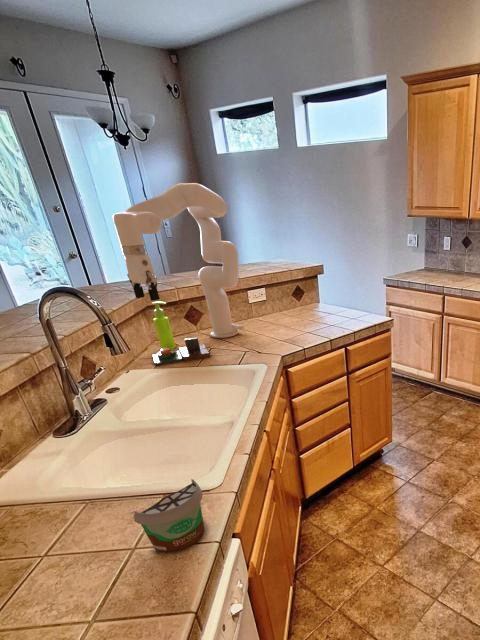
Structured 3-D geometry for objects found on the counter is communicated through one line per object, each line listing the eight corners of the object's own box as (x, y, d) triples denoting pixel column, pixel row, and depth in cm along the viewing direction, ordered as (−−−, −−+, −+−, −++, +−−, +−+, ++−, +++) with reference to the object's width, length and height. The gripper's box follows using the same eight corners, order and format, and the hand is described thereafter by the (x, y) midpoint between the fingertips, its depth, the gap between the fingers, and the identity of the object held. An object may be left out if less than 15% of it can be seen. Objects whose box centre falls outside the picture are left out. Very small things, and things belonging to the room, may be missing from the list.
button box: (179, 353, 184) (177, 346, 183) (182, 361, 175) (180, 354, 173) (153, 357, 179) (151, 350, 178) (155, 365, 170) (153, 358, 169)
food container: (167, 568, 76) (151, 524, 71) (147, 555, 79) (130, 512, 74) (225, 527, 85) (214, 487, 81) (205, 517, 88) (194, 477, 84)
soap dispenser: (174, 349, 189) (161, 303, 180) (158, 349, 189) (145, 303, 180) (180, 345, 194) (168, 300, 185) (165, 345, 195) (153, 300, 185)
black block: (199, 348, 183) (196, 336, 180) (200, 349, 181) (197, 337, 179) (187, 350, 181) (184, 338, 178) (187, 351, 179) (184, 339, 177)
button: (170, 351, 178) (169, 347, 177) (171, 353, 175) (170, 349, 175) (160, 353, 177) (159, 349, 176) (161, 355, 174) (160, 351, 173)
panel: (204, 348, 190) (203, 343, 188) (210, 357, 179) (209, 352, 178) (180, 352, 185) (178, 347, 184) (184, 361, 174) (183, 356, 173)
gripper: (158, 250, 154) (170, 299, 162) (131, 248, 162) (144, 295, 170) (137, 252, 148) (151, 302, 156) (110, 250, 156) (125, 298, 164)
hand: (147, 298), depth 163 cm, fingers open, 9 cm apart
